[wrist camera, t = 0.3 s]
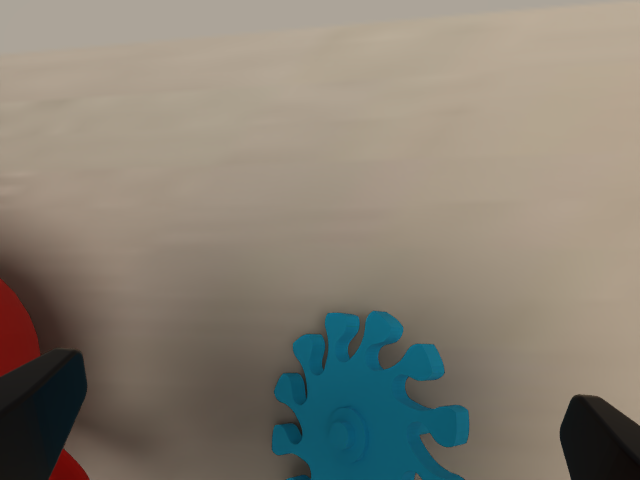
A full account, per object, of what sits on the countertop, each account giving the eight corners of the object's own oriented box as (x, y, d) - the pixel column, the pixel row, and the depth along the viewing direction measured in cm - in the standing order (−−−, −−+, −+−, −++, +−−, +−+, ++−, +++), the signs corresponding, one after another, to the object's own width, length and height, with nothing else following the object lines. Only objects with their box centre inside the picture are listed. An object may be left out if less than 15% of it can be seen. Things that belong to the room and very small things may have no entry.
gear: (292, 280, 23) (486, 361, 15) (375, 291, 27) (560, 360, 19) (234, 506, 23) (396, 691, 16) (324, 484, 27) (486, 623, 20)
